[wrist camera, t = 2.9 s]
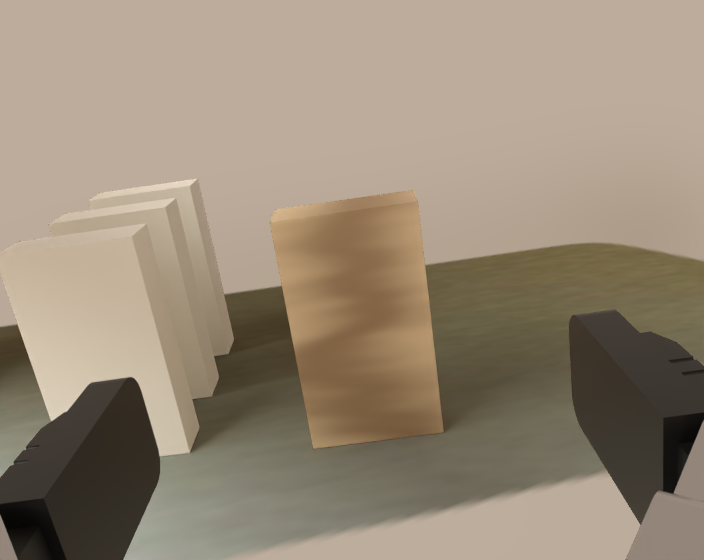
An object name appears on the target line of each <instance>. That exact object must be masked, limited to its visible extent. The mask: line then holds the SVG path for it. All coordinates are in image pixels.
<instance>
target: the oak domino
mask: <svg viewBox="0 0 704 560" xmlns="http://www.w3.org/2000/svg"><path fill="white" fill-rule="evenodd" d="M270 226H271V232H272V237H273V242H274V247H275V252H276V258H277V263H278V267H279V273H280V278H281V284H282V289H283V294H284V299H285V304H286V310H287V315H288V320H289V325H290V330H291V336H292V341H293V346H294V351H295V357H296V362H297V367H298V372H299V377H300V383H301V388H302V393H303V398H304V403H305V409H306V414H307V419H308V424H309V429H310V435H311V440H312V445H313V449H317V448H325V447H333V446H341V445H349V444H356V443H364V442H372V441H380V440H388V439H396V438H404V437H412V436H420V435H428V434H436V433H444V430H443V421H442V412H441V404H440V395H439V386H438V377H437V368H436V359H435V350H434V341H433V332H432V323H431V314H430V305H429V296H428V287H427V278H426V269H425V260H424V252H423V243H422V233H421V224H420V215H419V206H418V200H417V198H416V196H415V194H414V191H413V190H410V191H403V192H396V193H389V194H382V195H375V196H368V197H361V198H354V199H347V200H340V201H333V202H326V203H319V204H312V205H304V206H297V207H291V208H283V209H276V210H275V212H274V214H273V216H272V219H271V221H270Z"/></svg>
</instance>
